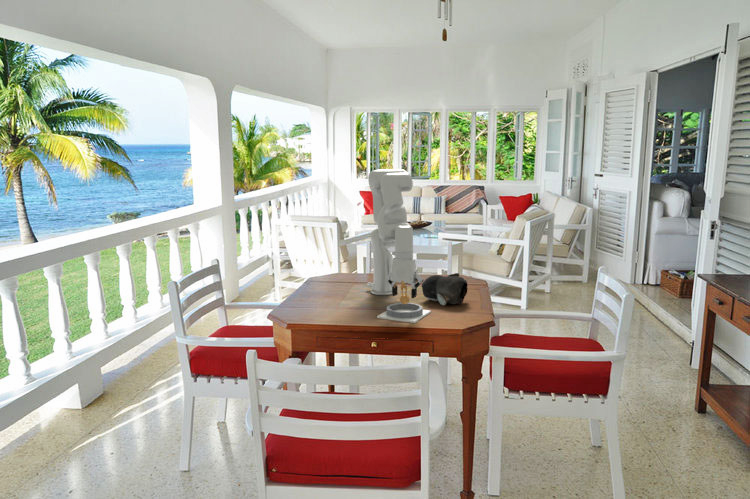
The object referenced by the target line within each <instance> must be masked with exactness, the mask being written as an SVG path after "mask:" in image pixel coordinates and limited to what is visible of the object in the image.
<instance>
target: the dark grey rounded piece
mask: <svg viewBox="0 0 750 499" xmlns="http://www.w3.org/2000/svg"><path fill="white" fill-rule="evenodd" d="M421 288H422V294H423V297H425V299H429V300H431V301H433V302H439V304H440V305H441V306H446V305H447V304H449V305H456V304H458V305H461V306H462V305H463V302H464V300H465V297H466V296H467V294H468V281H467V280H466V279H465V278H464V277H462V276H460V273H458V272H455V273H450V274H448V275H447V276H443V275H438V274H437V275H436V274H434V275H430V276H428V277H427V278H426V279H425V280H423V281H422V283H421Z"/></svg>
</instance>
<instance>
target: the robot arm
mask: <svg viewBox="0 0 750 499" xmlns="http://www.w3.org/2000/svg"><path fill="white" fill-rule="evenodd" d="M367 179H368V185H369V189H370V191H371V194H372V208H373V209H372V213H373V216H372V217H373V222H374V224H376V225H377V228H376V229H373V230H372V231H371V234H370V242H371V247H372V264H373V265H372V266H373V267H372V268H373V271H372V272H373V282H367V283H366V286H367V287H368V288H371V289H370V293H371V294H373V295H377V296H387V295H389V296H390V295H392V297H396V296H398V294H399V293H398V292H399V291H398V285H397V284H396V282H399V283H398V284H401V281H403V283H406V284H408V285H410V286H411V287H412V288H411V289H410V291H411V292H410V296H411V299H414V298H416V297H417V296H418V294H417V293H418V290H417V288H418V287H420V285H422V283H423V282H424V278H423V277H421V276H420V275H419V274H417V273H418V270H417V271H416V269H417V265H416V260H415V258H414V229H413V226H411V224H410V223H409V222H408V214H407V210H406V208H405V207H404V199H403V195H402V194H403V193H405V192H406V193H407V192H410V191H412V189H413V186H414V182H413V178H412V176H411V173H409V172H408V171H406V170H405V169H401V168H398V169H397V168H395V169H393V168H391V169H390V168H389V169H388V168H385V169H384V168H382V169H374V170H371V171H370V172H369V174H368V178H367ZM388 248H394V251H392V253H391V252H390V250H388ZM393 256H394V257H393ZM417 279H418V282H417V283H416V282H415V281H416V280H417ZM395 284H396V286H395ZM394 286H395V288H394Z"/></svg>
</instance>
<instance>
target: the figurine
mask: <svg viewBox="0 0 750 499" xmlns="http://www.w3.org/2000/svg"><path fill="white" fill-rule="evenodd" d="M397 284H401V285H400V289H401V292H400V293H401V295H400V297H399V303H402V304H407V303H410V297H409V295H407V290H408V287H407V285H406V284H407V283H403V281H401V283H399V282H396V284H395V286H396V285H397ZM395 286H394V288H395ZM403 290H405V291H403Z"/></svg>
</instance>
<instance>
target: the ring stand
mask: <svg viewBox="0 0 750 499" xmlns="http://www.w3.org/2000/svg"><path fill="white" fill-rule="evenodd" d="M431 313H432V310H429V309H424V308H423V306H422V305H420V304H419V303H418V304H417V303H414V302H408V303H407V304H402V303H401V302H397V303H391V304H388V305H387V306H386V311H384V312H382V313H381V314H378V315H377V316H376V317H377V319H383V320H389V321H396V322H397V321H398V322H402V323H403V322H405V323H412V324H415V323H417V322H419V321H420V320H422V319H423V318H425V317H426V316H428V315H429V314H431Z"/></svg>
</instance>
